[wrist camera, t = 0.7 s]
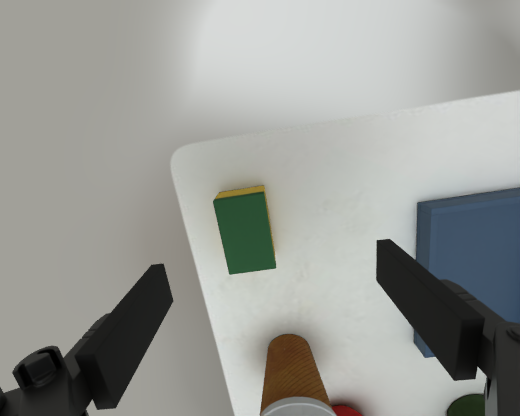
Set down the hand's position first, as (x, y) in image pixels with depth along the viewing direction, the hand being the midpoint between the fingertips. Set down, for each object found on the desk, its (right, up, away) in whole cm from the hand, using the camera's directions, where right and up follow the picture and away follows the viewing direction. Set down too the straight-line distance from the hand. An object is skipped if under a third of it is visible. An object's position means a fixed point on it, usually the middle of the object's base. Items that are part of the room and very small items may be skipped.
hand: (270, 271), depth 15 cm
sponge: (-2, +2, +16) cm, 16 cm away
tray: (+28, -4, +17) cm, 33 cm away
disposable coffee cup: (+4, -17, +22) cm, 28 cm away
